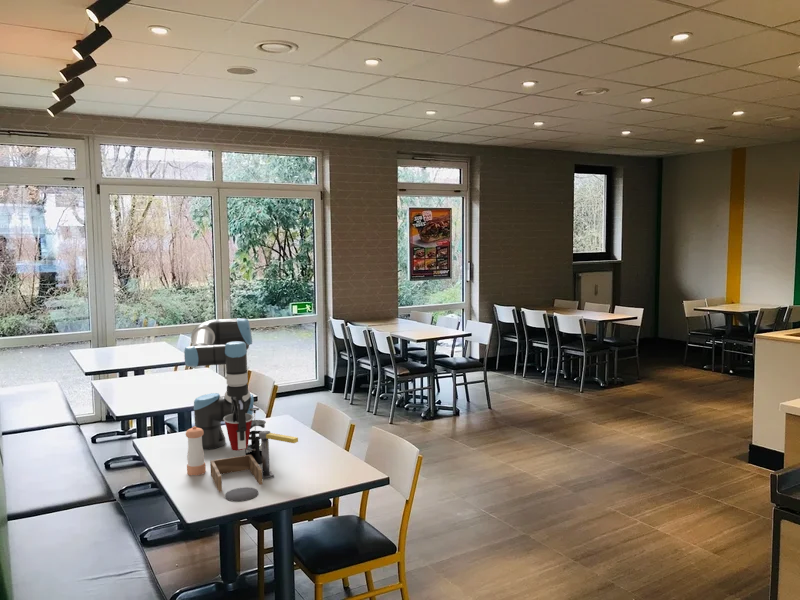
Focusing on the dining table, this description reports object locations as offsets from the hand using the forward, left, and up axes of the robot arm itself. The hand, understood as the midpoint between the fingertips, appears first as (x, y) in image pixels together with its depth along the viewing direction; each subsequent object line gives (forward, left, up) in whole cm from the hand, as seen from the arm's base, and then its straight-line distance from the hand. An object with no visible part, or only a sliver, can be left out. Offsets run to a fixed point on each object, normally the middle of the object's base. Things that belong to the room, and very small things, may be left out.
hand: (239, 445), depth 238 cm
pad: (0, 0, -19) cm, 19 cm away
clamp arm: (-9, +16, -3) cm, 19 cm away
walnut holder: (-16, +1, -19) cm, 25 cm away
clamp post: (-15, +12, -19) cm, 27 cm away
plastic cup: (0, 0, -1) cm, 1 cm away
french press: (-36, +13, -19) cm, 43 cm away
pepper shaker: (-33, -12, -19) cm, 40 cm away
